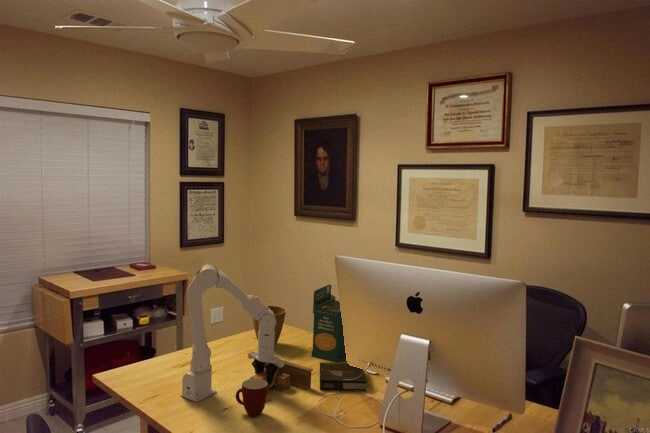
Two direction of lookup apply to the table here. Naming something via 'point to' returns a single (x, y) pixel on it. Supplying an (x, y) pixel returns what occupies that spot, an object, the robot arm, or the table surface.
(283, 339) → the table surface
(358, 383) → the portable cd player
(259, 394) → the mug
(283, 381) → the board
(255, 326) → the plant pot
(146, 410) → the table surface
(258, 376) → the brown boxy piece
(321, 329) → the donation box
